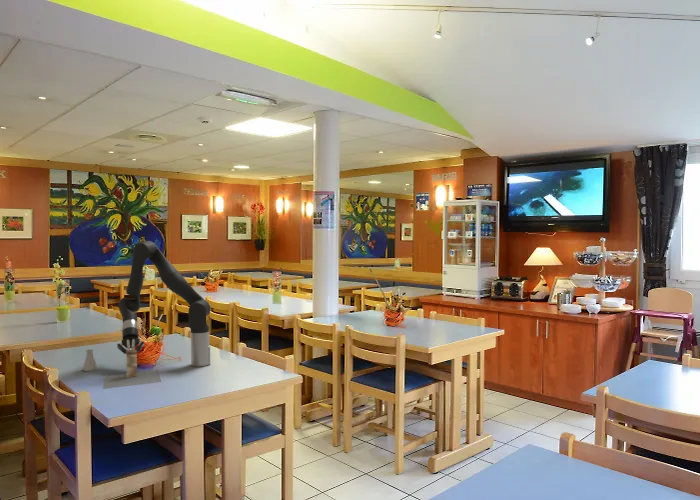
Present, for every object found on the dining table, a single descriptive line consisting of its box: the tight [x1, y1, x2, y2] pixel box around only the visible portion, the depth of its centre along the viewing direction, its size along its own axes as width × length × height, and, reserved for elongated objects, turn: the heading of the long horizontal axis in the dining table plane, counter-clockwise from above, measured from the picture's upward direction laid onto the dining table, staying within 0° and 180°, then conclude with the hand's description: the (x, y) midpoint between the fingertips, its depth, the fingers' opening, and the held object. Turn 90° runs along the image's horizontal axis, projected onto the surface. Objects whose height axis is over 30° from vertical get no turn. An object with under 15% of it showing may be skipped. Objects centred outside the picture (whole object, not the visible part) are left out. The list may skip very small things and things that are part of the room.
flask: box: [81, 349, 99, 372], centre depth 258 cm, size 7×7×10 cm
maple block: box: [125, 349, 138, 378], centre depth 245 cm, size 4×4×12 cm
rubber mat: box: [102, 369, 162, 390], centre depth 240 cm, size 24×22×1 cm
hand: (131, 359), depth 251 cm, fingers closed
